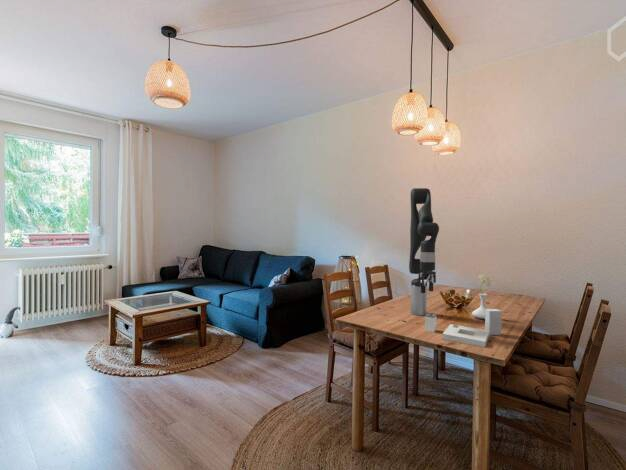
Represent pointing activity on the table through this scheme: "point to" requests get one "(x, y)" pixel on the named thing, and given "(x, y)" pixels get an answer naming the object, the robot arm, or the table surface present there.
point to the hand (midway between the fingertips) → (427, 292)
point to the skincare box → (493, 321)
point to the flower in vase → (482, 299)
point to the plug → (430, 322)
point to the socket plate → (466, 335)
